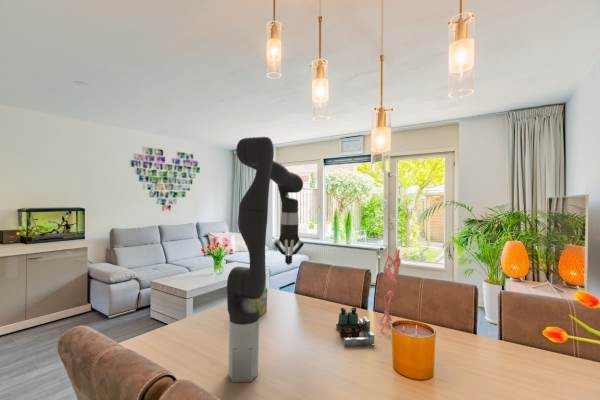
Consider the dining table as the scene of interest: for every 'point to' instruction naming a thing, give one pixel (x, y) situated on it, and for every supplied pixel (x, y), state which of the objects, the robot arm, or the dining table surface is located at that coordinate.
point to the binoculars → (348, 323)
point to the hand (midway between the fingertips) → (288, 264)
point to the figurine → (387, 272)
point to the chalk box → (261, 302)
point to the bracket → (365, 330)
